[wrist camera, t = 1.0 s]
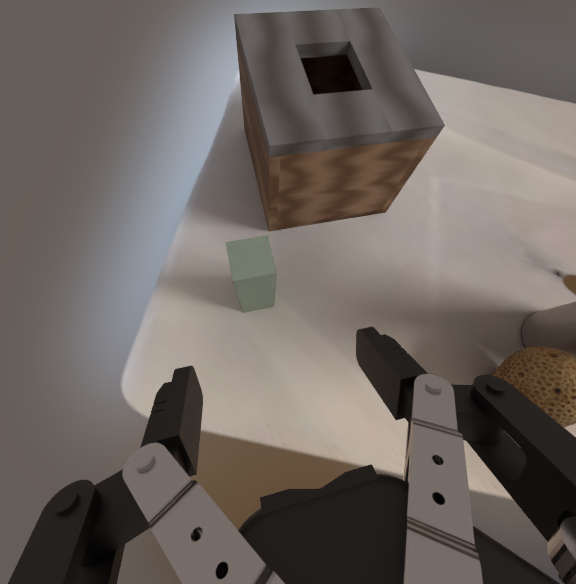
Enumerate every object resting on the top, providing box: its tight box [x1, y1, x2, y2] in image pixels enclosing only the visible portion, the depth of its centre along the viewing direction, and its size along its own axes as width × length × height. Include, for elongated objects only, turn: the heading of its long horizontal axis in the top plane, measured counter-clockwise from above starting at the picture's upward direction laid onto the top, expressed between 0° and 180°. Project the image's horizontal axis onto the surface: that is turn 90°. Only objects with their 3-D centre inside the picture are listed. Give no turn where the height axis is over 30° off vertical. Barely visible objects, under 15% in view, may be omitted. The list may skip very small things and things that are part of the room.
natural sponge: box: [492, 346, 576, 427], centre depth 32 cm, size 9×9×10 cm
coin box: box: [234, 8, 445, 231], centre depth 39 cm, size 20×22×16 cm
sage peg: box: [226, 236, 276, 312], centre depth 33 cm, size 4×4×12 cm
